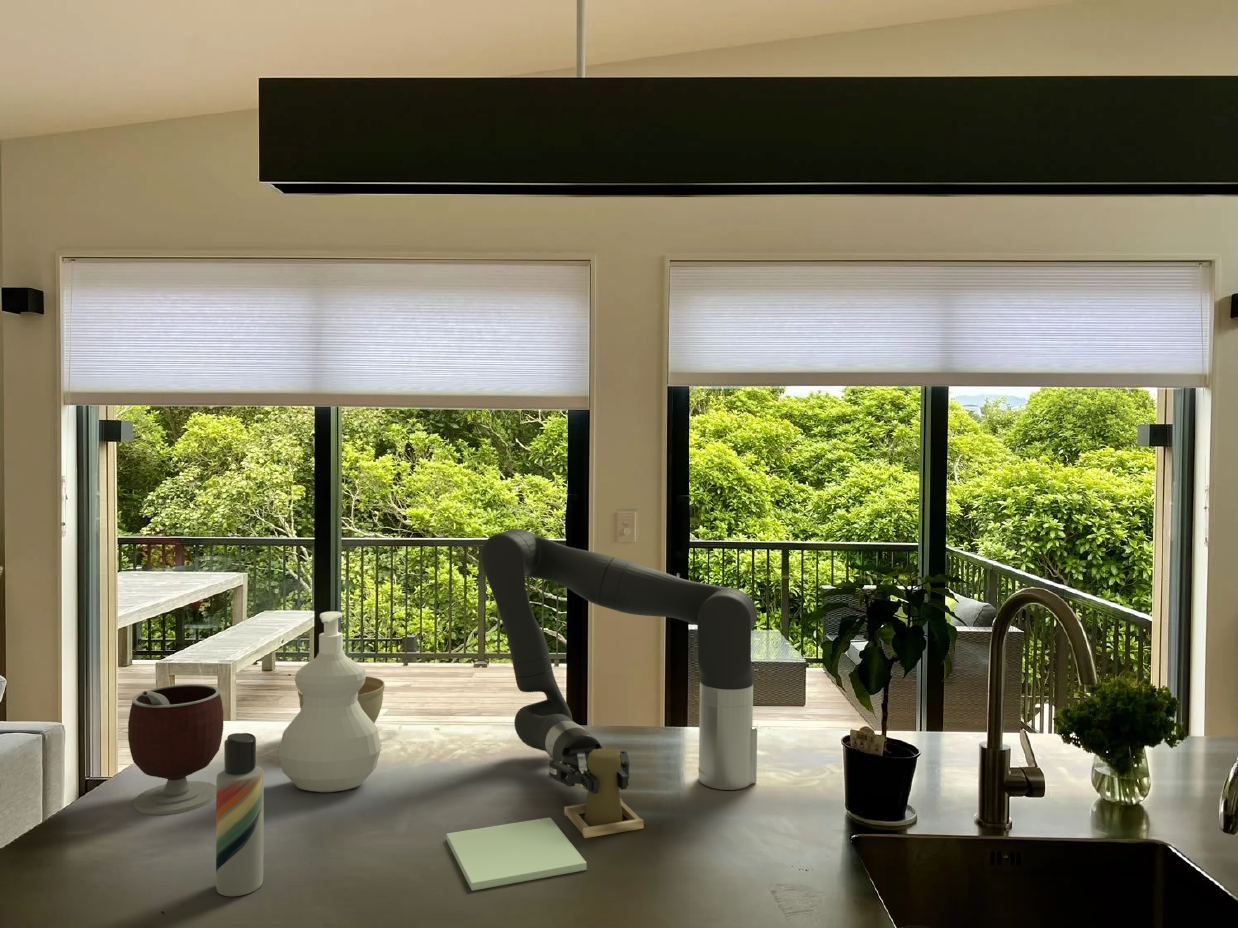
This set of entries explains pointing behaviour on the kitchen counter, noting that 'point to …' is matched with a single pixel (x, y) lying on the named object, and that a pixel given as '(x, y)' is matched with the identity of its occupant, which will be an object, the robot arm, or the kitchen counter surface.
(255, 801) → the lotion bottle
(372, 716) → the planter bowl
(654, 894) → the kitchen counter surface
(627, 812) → the oak holder frame
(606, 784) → the cork
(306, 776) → the soap bottle
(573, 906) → the kitchen counter surface
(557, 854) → the sage board
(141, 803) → the mate gourd
